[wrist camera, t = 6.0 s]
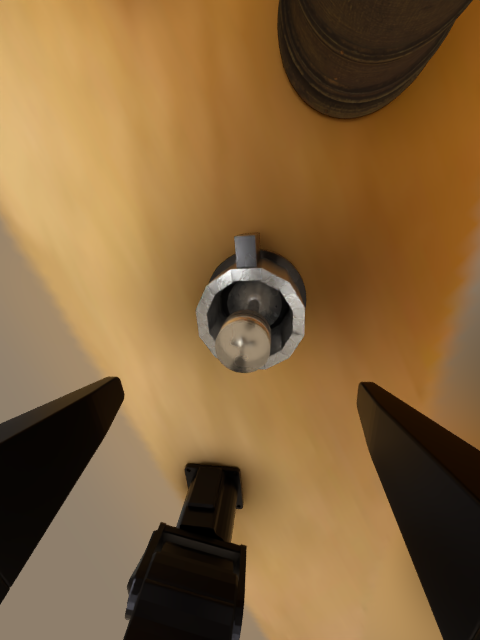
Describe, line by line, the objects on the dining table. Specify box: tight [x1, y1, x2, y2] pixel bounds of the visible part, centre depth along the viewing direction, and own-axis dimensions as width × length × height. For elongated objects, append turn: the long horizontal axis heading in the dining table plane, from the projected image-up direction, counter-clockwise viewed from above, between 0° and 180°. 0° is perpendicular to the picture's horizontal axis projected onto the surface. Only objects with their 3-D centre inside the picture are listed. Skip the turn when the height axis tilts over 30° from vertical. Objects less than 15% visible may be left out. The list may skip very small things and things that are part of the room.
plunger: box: [215, 280, 282, 373], centre depth 16 cm, size 4×4×8 cm
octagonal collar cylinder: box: [196, 233, 306, 369], centre depth 18 cm, size 9×8×5 cm
